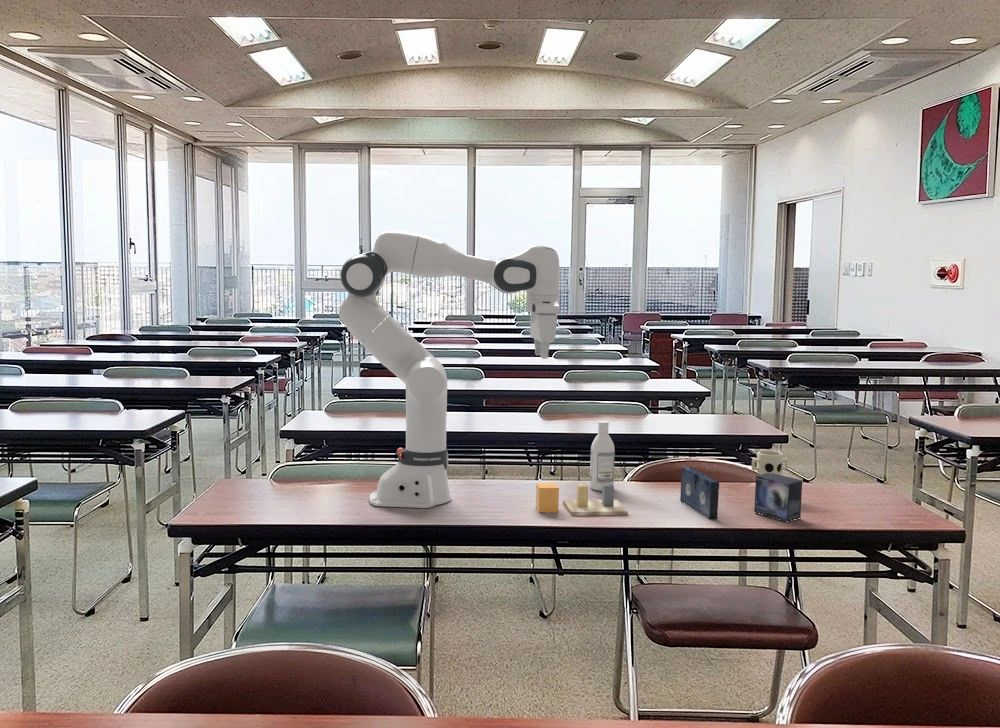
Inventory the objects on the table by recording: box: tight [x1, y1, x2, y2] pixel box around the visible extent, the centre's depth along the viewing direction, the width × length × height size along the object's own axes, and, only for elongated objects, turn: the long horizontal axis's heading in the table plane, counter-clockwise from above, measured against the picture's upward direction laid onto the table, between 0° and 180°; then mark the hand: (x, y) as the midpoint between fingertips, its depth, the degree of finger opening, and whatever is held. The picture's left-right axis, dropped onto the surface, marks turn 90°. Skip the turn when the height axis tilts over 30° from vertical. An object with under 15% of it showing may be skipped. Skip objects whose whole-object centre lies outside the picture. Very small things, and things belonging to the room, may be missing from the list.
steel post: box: [601, 484, 615, 507], centre depth 228 cm, size 3×3×6 cm
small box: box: [753, 473, 804, 522], centre depth 224 cm, size 11×6×10 cm, turn 36°
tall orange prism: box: [535, 482, 560, 513], centre depth 226 cm, size 5×5×7 cm
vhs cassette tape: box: [679, 466, 720, 520], centre depth 229 cm, size 18×3×10 cm, turn 11°
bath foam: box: [589, 420, 616, 492], centre depth 250 cm, size 7×7×20 cm
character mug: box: [751, 449, 789, 475], centre depth 243 cm, size 11×7×13 cm, turn 99°
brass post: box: [575, 483, 589, 507], centre depth 227 cm, size 3×3×6 cm
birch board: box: [562, 498, 629, 517], centre depth 228 cm, size 15×12×1 cm
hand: (541, 356), depth 231 cm, fingers open, 8 cm apart
